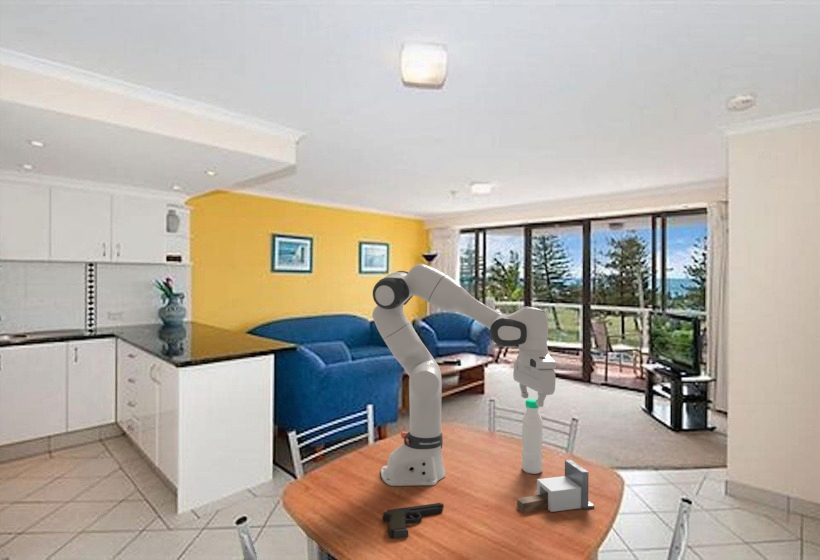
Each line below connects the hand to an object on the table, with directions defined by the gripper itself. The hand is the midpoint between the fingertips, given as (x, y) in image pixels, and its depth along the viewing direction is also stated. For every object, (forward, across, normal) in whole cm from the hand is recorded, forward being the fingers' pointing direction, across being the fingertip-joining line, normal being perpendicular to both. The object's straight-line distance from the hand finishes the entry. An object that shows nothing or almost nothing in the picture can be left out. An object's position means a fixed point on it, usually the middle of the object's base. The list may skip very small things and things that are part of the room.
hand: (531, 401), depth 137 cm
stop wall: (+29, +7, +12) cm, 32 cm away
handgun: (+31, +8, -38) cm, 50 cm away
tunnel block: (+29, +7, +6) cm, 31 cm away
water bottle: (+29, -16, +10) cm, 35 cm away
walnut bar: (+30, +7, 0) cm, 30 cm away
